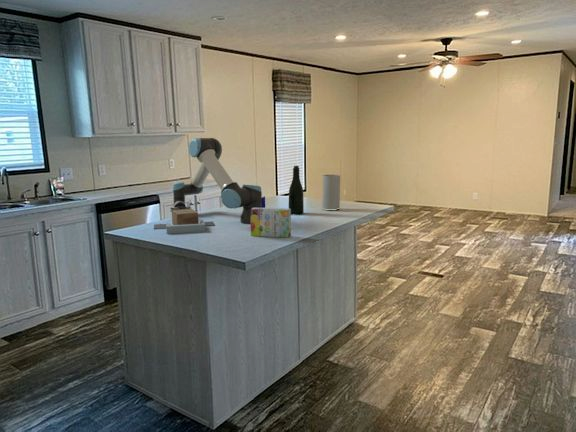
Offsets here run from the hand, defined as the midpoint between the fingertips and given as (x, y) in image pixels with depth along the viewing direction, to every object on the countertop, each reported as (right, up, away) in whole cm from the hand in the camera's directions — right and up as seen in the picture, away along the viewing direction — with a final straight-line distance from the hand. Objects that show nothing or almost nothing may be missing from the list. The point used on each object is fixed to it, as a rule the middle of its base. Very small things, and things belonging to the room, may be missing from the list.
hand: (181, 213), depth 268 cm
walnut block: (+4, -8, -6) cm, 11 cm away
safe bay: (+7, -10, -18) cm, 21 cm away
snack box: (+56, -13, -32) cm, 65 cm away
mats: (+3, -7, -5) cm, 9 cm away
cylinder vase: (+96, +3, +51) cm, 109 cm away
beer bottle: (+71, 0, +35) cm, 79 cm away
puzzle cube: (+43, +2, +47) cm, 64 cm away
